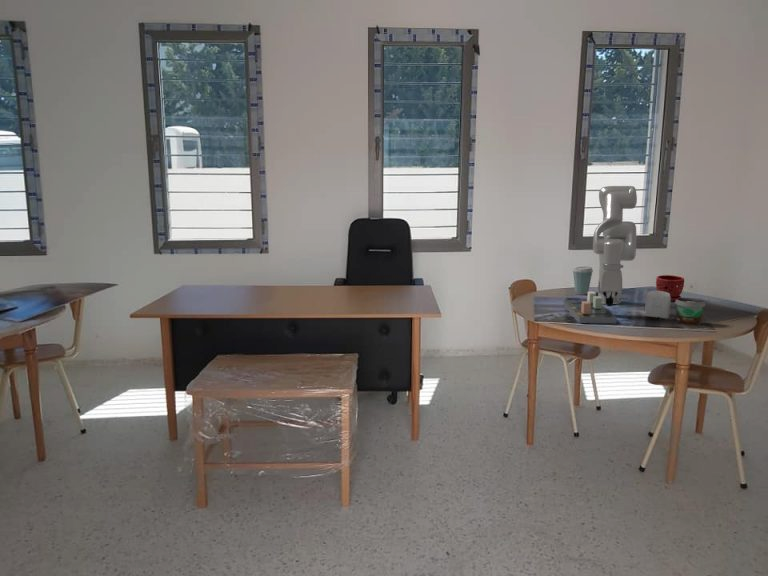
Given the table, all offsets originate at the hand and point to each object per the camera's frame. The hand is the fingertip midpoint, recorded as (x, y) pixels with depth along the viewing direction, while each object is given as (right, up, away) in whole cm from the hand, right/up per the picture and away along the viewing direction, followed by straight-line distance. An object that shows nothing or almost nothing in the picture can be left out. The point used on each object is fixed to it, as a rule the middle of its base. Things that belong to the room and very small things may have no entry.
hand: (609, 305), depth 271 cm
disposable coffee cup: (+3, +5, +48) cm, 48 cm away
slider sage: (-5, -1, +1) cm, 6 cm away
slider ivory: (-4, +1, +12) cm, 12 cm away
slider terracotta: (-14, -3, -9) cm, 17 cm away
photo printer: (+20, -5, -5) cm, 22 cm away
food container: (+29, -7, -17) cm, 34 cm away
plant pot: (+43, +2, +29) cm, 52 cm away
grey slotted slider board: (-9, -4, +2) cm, 10 cm away
